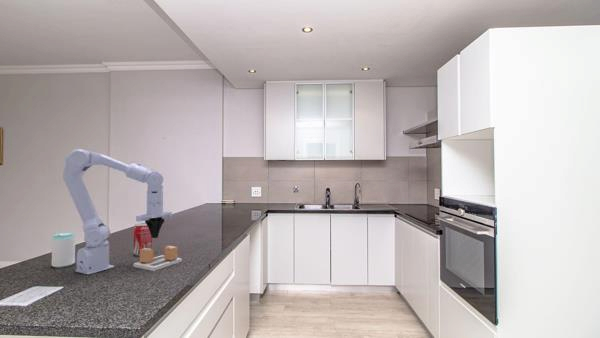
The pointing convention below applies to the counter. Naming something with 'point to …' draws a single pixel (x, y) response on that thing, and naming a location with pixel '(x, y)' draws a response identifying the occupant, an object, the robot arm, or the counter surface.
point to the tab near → (170, 252)
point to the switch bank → (157, 263)
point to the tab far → (146, 255)
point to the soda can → (141, 238)
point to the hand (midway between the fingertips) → (154, 237)
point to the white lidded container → (63, 250)
